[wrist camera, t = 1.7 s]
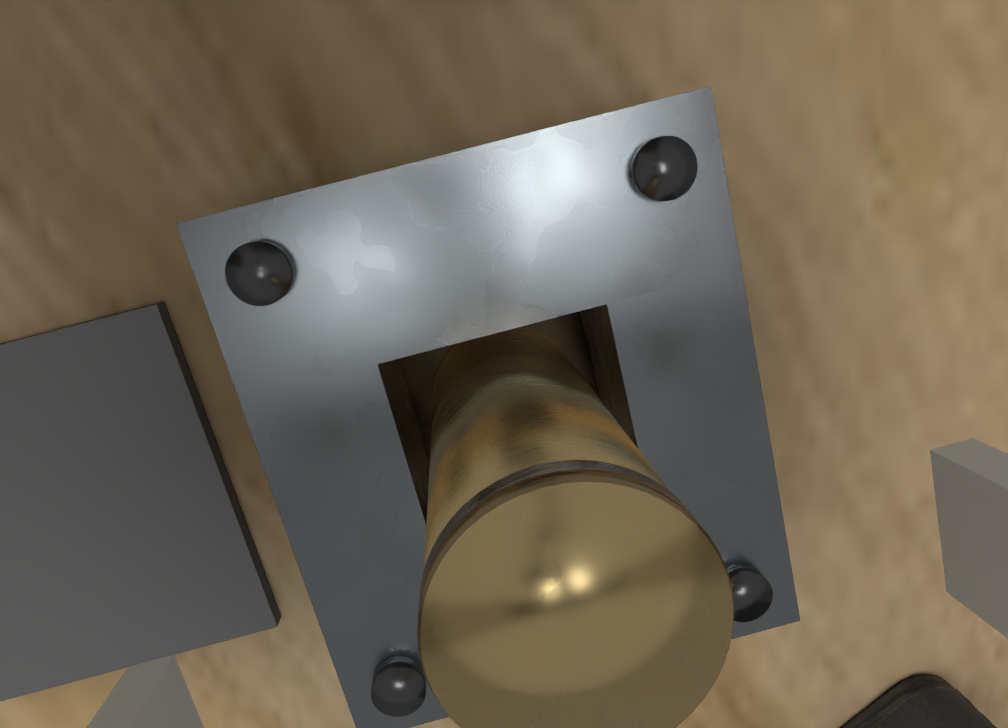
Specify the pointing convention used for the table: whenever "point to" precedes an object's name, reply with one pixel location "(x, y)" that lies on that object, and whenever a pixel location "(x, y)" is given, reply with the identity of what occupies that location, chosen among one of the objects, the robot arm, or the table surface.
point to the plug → (558, 555)
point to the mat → (114, 508)
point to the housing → (480, 312)
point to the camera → (921, 707)
